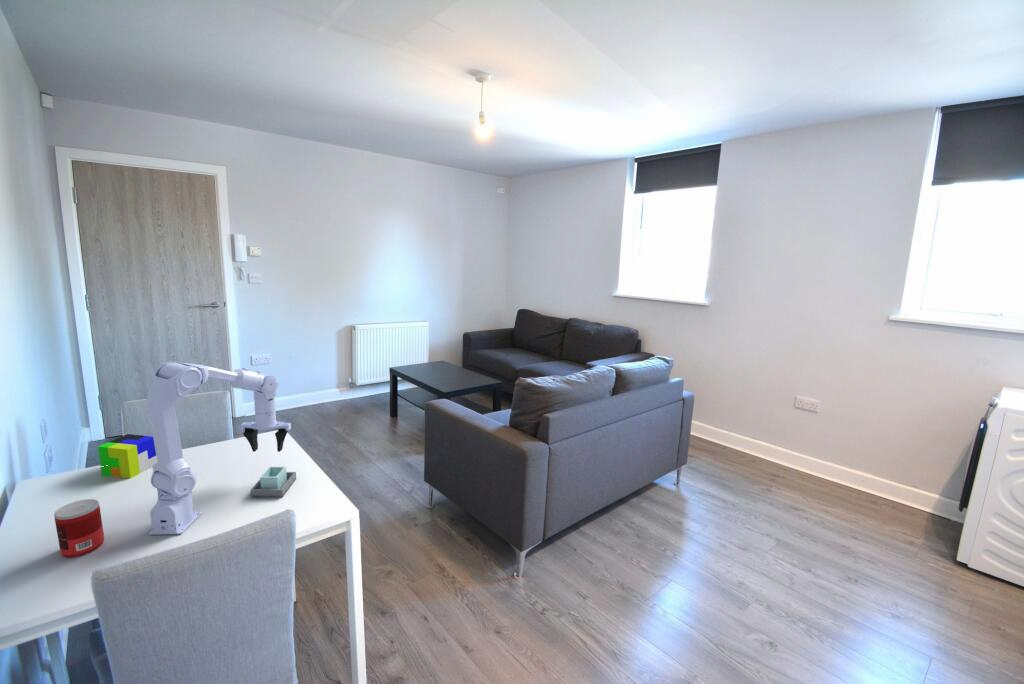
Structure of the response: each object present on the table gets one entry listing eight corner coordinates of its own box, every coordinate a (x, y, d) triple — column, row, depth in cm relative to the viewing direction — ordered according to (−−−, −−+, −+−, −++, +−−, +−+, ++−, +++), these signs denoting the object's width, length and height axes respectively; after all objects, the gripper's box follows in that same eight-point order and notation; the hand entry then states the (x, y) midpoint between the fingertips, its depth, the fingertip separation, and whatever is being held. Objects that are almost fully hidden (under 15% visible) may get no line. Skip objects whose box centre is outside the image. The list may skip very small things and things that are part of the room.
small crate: (286, 480, 145) (286, 466, 144) (278, 492, 138) (277, 477, 137) (270, 480, 145) (269, 466, 144) (261, 492, 138) (260, 477, 137)
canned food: (112, 537, 115) (107, 499, 113) (84, 559, 107) (78, 517, 105) (81, 537, 115) (75, 498, 112) (51, 558, 107) (44, 516, 104)
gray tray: (296, 478, 148) (295, 471, 147) (282, 497, 137) (282, 489, 136) (266, 478, 147) (266, 471, 146) (251, 497, 136) (250, 490, 135)
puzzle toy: (158, 464, 152) (154, 436, 150) (130, 478, 143) (126, 449, 141) (131, 461, 153) (127, 434, 151) (102, 475, 144) (97, 446, 142)
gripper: (293, 406, 147) (295, 445, 150) (247, 406, 145) (249, 444, 148) (285, 414, 140) (287, 454, 143) (236, 413, 139) (239, 454, 141)
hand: (267, 450), depth 145 cm, fingers open, 7 cm apart
